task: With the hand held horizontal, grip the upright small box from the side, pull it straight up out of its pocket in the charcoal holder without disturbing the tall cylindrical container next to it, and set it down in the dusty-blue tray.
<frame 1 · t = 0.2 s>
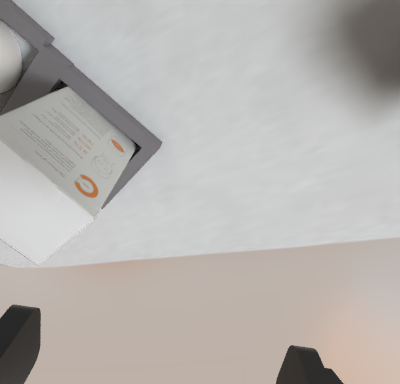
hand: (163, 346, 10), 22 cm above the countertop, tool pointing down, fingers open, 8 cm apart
small box: (87, 135, 31), resting in holder
holder: (36, 96, 29), on the countertop
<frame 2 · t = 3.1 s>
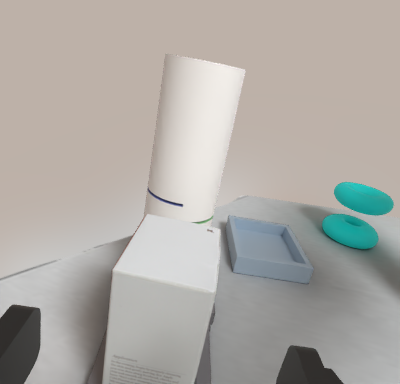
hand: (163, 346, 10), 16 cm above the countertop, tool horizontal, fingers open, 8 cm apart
donuts: (346, 238, 60), on the countertop
small box: (151, 379, 26), resting in holder
tray: (262, 253, 48), on the countertop
holder: (159, 326, 31), on the countertop
cylindrical container: (164, 292, 36), resting in holder
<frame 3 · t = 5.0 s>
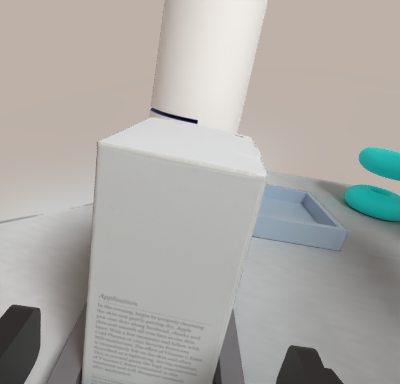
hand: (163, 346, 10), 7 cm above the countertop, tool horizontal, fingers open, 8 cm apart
donuts: (371, 211, 53), on the countertop
small box: (156, 349, 19), resting in holder
tray: (281, 219, 41), on the countertop
holder: (165, 288, 24), on the countertop
cylindrical container: (170, 252, 29), resting in holder
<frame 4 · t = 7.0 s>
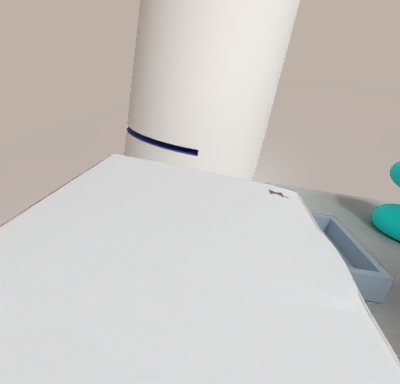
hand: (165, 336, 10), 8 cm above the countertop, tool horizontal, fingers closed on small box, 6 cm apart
tray: (303, 255, 33), on the countertop
cylindrical container: (161, 321, 21), resting in holder
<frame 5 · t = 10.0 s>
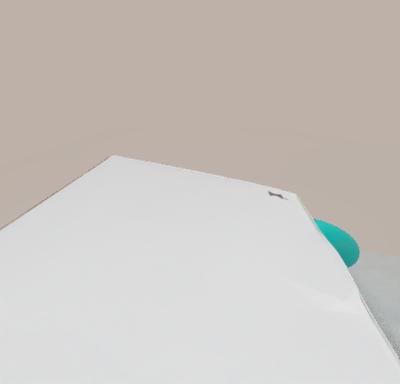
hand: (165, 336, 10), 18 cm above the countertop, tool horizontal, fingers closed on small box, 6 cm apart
donuts: (299, 294, 44), on the countertop
when the fingers open (10 cm above the countertop, at t = 13.2 s): small box drops 1 cm, resting on tray.
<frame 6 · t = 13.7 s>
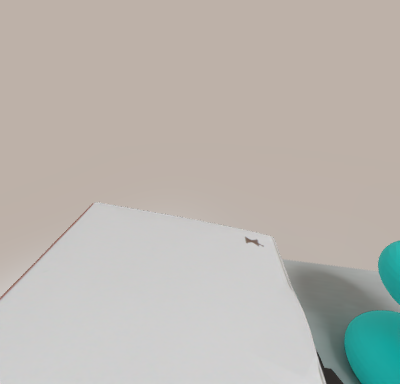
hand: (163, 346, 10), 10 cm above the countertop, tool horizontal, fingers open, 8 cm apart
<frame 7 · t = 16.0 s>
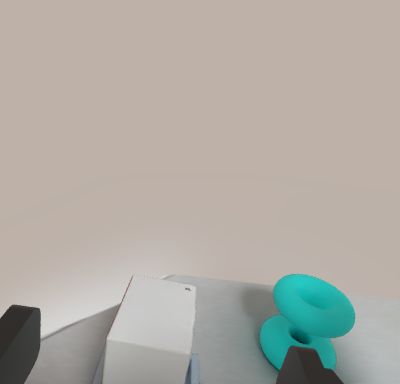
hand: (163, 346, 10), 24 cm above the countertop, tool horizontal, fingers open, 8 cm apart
donuts: (293, 354, 42), on the countertop
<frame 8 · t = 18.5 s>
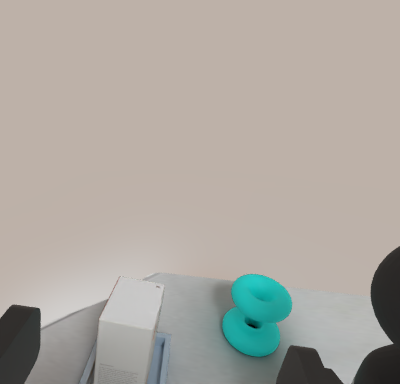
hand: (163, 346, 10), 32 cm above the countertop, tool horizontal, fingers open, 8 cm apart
donuts: (248, 336, 54), on the countertop
small box: (124, 377, 42), point 1 cm above the countertop, touching tray
tray: (126, 379, 43), on the countertop
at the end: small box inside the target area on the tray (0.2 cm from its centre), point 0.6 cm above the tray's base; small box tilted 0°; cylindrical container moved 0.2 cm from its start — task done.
